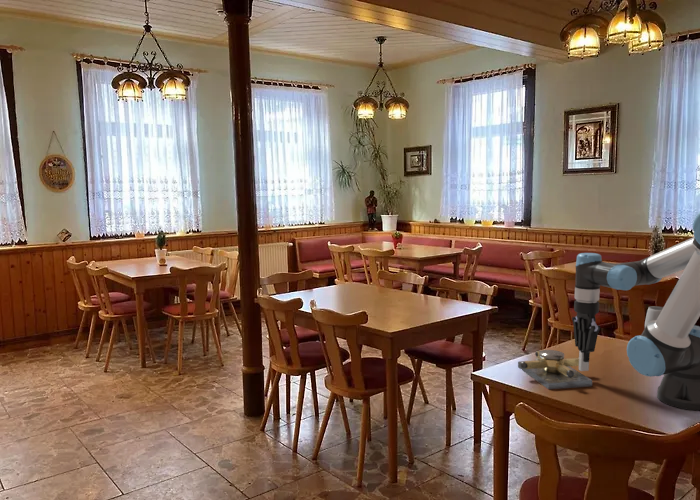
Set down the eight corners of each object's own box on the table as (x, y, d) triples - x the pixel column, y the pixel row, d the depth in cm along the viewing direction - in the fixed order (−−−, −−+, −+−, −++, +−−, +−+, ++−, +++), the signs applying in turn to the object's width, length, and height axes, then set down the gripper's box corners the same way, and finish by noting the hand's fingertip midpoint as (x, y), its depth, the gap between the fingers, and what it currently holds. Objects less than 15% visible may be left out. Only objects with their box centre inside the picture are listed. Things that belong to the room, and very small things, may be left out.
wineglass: (661, 363, 207) (664, 306, 204) (670, 370, 199) (674, 310, 196) (639, 362, 207) (642, 305, 205) (647, 369, 200) (651, 310, 197)
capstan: (606, 379, 184) (606, 363, 184) (537, 384, 181) (537, 368, 180) (567, 356, 207) (568, 342, 207) (505, 360, 204) (506, 346, 203)
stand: (592, 386, 185) (592, 377, 184) (548, 389, 182) (548, 380, 182) (557, 364, 206) (557, 356, 206) (518, 367, 204) (518, 358, 204)
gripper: (609, 304, 181) (605, 376, 184) (586, 295, 194) (583, 363, 197) (587, 305, 180) (583, 377, 183) (565, 296, 193) (562, 364, 196)
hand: (583, 370), depth 190 cm, fingers closed
